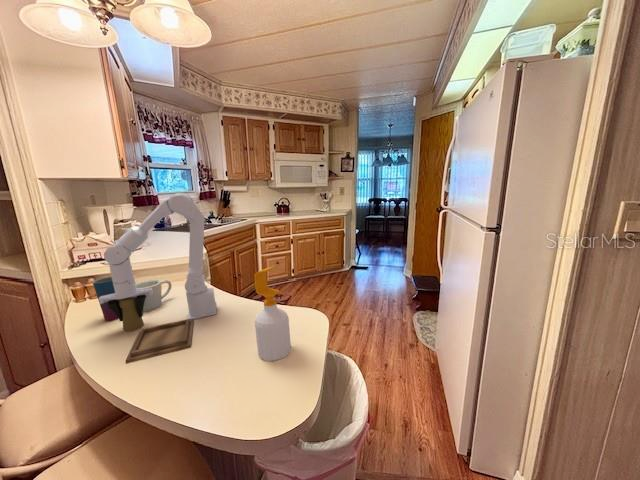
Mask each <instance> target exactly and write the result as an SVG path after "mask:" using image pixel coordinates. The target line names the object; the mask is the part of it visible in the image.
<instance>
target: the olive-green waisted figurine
mask: <svg viewBox="0 0 640 480" xmlns="http://www.w3.org/2000/svg"><path fill="white" fill-rule="evenodd" d="M136 298H137V297H129V298H124V299H121V300H120V301H119V306H120V308H122V317H123V321H122V330H123V332H125V333H131V332H136V331H138V330H139V329H143V327H144V326H145V322H144V320H143V316H142V317H141V318H139V313H138V308H137V305H136V302H135V299H136Z"/></svg>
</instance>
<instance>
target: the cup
mask: <svg viewBox="0 0 640 480" xmlns="http://www.w3.org/2000/svg"><path fill="white" fill-rule="evenodd" d="M92 284H93V289H94V291H95V293H96V297H97V301H98V302H99V298H100V297H101V296H105V295H109V294H113V293H115V290H114V285H113V281H112V277H111V276H105V277H101V278H97V279H95V280H93V281H92ZM99 305H100V309H101V312H102V315H103V318H104V321H106V322H112V321H115V320H119V318H118V317H117V315H116V314H115V313H114V312H113V311H112V310H111V309H110V308H109V307H108V302H105V303H102V304H100V302H99Z"/></svg>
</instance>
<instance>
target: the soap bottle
mask: <svg viewBox="0 0 640 480" xmlns="http://www.w3.org/2000/svg"><path fill="white" fill-rule="evenodd" d="M276 268H277V267H276V266H275V265H273V266H269V267H266V268H264V269H260V270H259V271H256V272H255V273H254V276H253V277H254V278H253V280H254V288H255V293H256V294H257V295H259V296H263V297H264V299H265V300H264V302H263V308H264V309H262V311H260V312H259V313H258V314H257V315H256V316H255V319H254V327H255V336H256V337H255V338H256V347H257V355H258V356H259V358H260V359H262V360H264V361H268V362H273V361H278V360H281V359H283V358H285V357H288V355H289V353H290V352H291V349H292V346H291V344H292V343H291V332H290V320H289V318H290V317H289V315H288V314H287V312H286V311H285V310H283V309H282V308H280V307H278V306H277V300H276V299H274V297H275V296H276V295H277V294H279V293H280V290H279V289H276V288H271V287H269V286H268V278H267V272H269V271H271V270H273V269H276Z"/></svg>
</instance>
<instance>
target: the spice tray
mask: <svg viewBox="0 0 640 480" xmlns="http://www.w3.org/2000/svg"><path fill="white" fill-rule="evenodd" d="M194 324H195V322H194V319H191V320H190V319H188V318H187V319H182V320H177V321H171V322H169V323H164V324H163V323H162V324H159V325H154V326H149V327H144V328H143V327H142V328H140V329H141V330H140V331H139V332H138V334H137V336H136V338H135V340H134V342H133V344H132V346H131V349H130V350H129V353H128V355H127V356H126V359H125V363H126V364H128V363H133V362H137V361H139V360H140V361H141V360H144V359H148V358H153V357H156V356H160V355H164V354H169V353H172V352H177V351H181V350H184V349H185V350H186V349H189V348H192V340H193V332H194Z"/></svg>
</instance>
